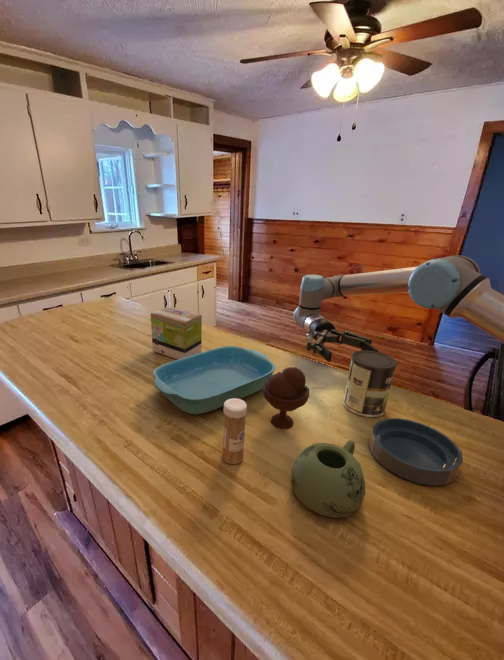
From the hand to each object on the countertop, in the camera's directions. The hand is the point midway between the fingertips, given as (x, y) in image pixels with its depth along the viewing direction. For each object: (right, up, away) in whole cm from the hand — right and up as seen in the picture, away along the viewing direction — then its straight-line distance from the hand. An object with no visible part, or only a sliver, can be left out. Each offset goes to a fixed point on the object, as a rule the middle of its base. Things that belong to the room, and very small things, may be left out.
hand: (353, 356), depth 93 cm
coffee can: (+1, -13, -4) cm, 14 cm away
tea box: (-51, 0, +26) cm, 57 cm away
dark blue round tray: (+3, -20, -21) cm, 29 cm away
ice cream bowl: (-22, -16, -10) cm, 29 cm away
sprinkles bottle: (-35, -20, -22) cm, 46 cm away
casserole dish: (-38, -10, +4) cm, 40 cm away
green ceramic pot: (-18, -24, -29) cm, 41 cm away
